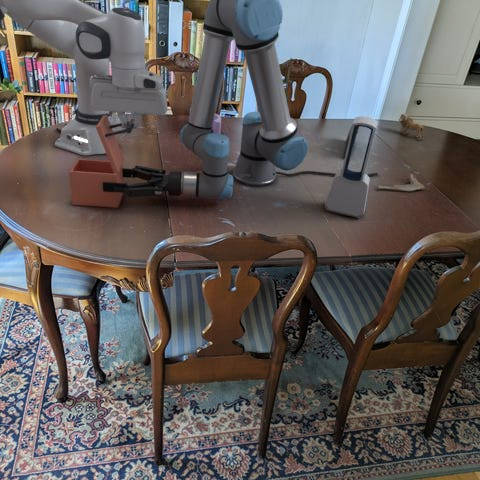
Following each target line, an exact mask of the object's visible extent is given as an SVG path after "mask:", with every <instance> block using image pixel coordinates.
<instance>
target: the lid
mask: <svg viewBox="0 0 480 480" xmlns="http://www.w3.org/2000/svg"><path fill="white" fill-rule="evenodd" d="M133 121H136V120H135V119H134V118H131V119H129V120H128V126H127V128H124V129H121V130H117V131H114V130H113V129H114V128H115V129H116V128H119V127H122V122H120V123H116V124H112V125H111V124H110V122H109V119H108V117H107V115H105V116H103V117H102V118H101V120H100V121H99V123H98V124H97V126H96V129H97V132H98V134H99V137H100V139H101V142H102V144H103V147H104V149H105V152H106V153H105V154H106V156H107V159H108V161H109V162H110V164H111V167H112V169H113V172H114V173H118V172H119V170H120V167H121V165H122V166H123V162H124V160H125V159H124V156H123V153H122V151H121V147H120V145H119V143H118V140H117V138H116V135H122V134H125V133H126V134H131V133H132V131H133V129H134V128H133Z"/></svg>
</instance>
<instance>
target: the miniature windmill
mask: <svg viewBox="0 0 480 480" xmlns="http://www.w3.org/2000/svg"><path fill="white" fill-rule="evenodd" d="M292 59H293V58H292V57H290V60H289V65H288V66H286V67H285V66H284V65H280V64H279V67H280V71H284V70H286V71H285V73H284V78H282V81H283V86H284V90H285V95H286V100H287V105H288V108H289V84H291V83H292V82H293V80H290V73H291V67H292V61H293V60H292Z"/></svg>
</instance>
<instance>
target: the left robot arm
mask: <svg viewBox="0 0 480 480" xmlns="http://www.w3.org/2000/svg"><path fill="white" fill-rule="evenodd" d="M6 15H7V16H8V17H9V18H11V19H12V21H14V22H15V23H16V24H18V26H20V27H21V28H23V29H24V30H26V31H27V32H29V33H30V34H32V35H33V36H35V37H36V38H37V39H39V40H40V41H42V42H43V43H45V44H46V45H47V46H49V47H51V48H53V49H55V50H57V51H59V52H61V53H63V54H64V55H66V56H68V57H69V58H71V59H72V60H73V61H74V68H75V88H76V99H77V108H76V109H75V110H74V111H71V115H72V116H74V115H75V116H74V118H73V119H72V120H71V121H69V122H68V123H67V122H66V123H64V124H63V126H62V128H61V129H60V128H58V127H56V128H55V130H56V131H57V132H59V133H60V137H59V138H57V139H56V140H55V142H54V146H55V147H57V148H59V149H62V150H65V151H69V152H72V153H74V154H78V155H80V156H84V157H85V156H86V157H87V156H92V155H105V154H106V152H105V149H104V147H103V144H102V142H101V139H100V137H99V134H98V132H97V129H96V126H97V124H98V123H99V121H100V120H101V118H102V117H103V116H105V115H107V117H108V119H109V122H110V124H111V125H113V112H115V113H116V116H117V118H118V119H119V120H120V123H122V126H121V128H124V129H126V128H127V126H128V121H129V120H128V119H126V118H125V116H124V114H136V118H137V119H136V120H135V121H133V129H134V130H135V129H136V130H139V128H140V121H141V119H142V118H143V116H144V115H148V116H149V115H150V116H153V115H154V116H160V117H161V116H165V115H166V113H167V111H168V97H167V91H166V89H165V87H164V86H163V83H164V80H163V79H164V78H163V76H162V75H160V74H158V73H156V72H153V71H150V70H148V69H147V66H146V61H145V51H146V34H145V33H146V32H145V25H144V20H143V18H142V16H141V15H140V14H139V13H138V11H137V12H136V11H135V10H133V9H130V8H125V7H113V8H111V9H110V10H109V11H108V12H105V11H103V10H101V9H99V8H97V7H95V6H94V5H91V4H90V3H88V2H86V1H84V0H0V22H2V21H3V20H4V19H5V17H6ZM110 70H111V74H110Z"/></svg>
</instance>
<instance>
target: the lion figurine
mask: <svg viewBox="0 0 480 480" xmlns="http://www.w3.org/2000/svg"><path fill="white" fill-rule="evenodd" d="M398 123H400V125H401V127H402V128H404V129H403V132H402V135H404V136H405V135H406V134H407V133H408V132H406V131H409V130H411V131H415V132H416V134H417V135H418V136H417V135H415V137H416V138H417V141H420V140H421V139H423V138H425V136H424V125H423V124H422V123H419V122H415V121H414V120H413V119H412V118H411V117H410V116H409V115H408V114H406V113H402V114H401V113H400V116H399V119H398ZM404 132H405V133H404ZM419 138H421V139H419Z"/></svg>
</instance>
